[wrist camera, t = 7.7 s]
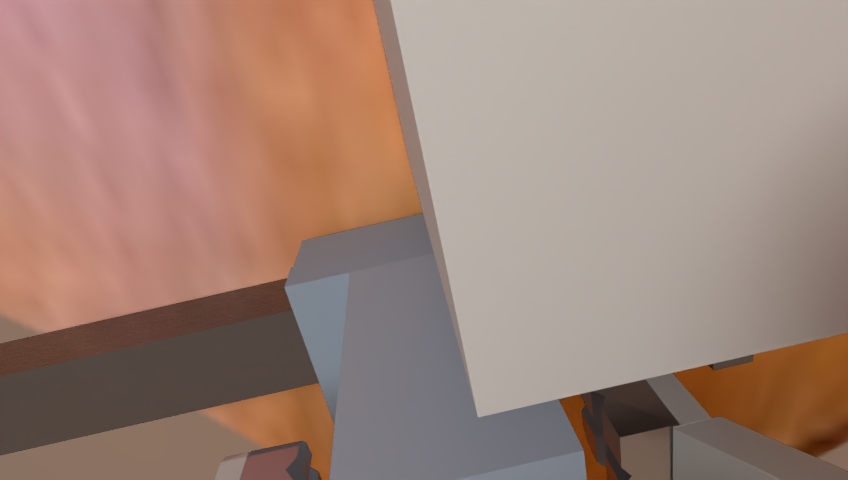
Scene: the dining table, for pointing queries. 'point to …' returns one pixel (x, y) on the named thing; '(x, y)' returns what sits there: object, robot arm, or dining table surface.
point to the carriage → (409, 369)
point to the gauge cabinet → (625, 181)
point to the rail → (155, 366)
